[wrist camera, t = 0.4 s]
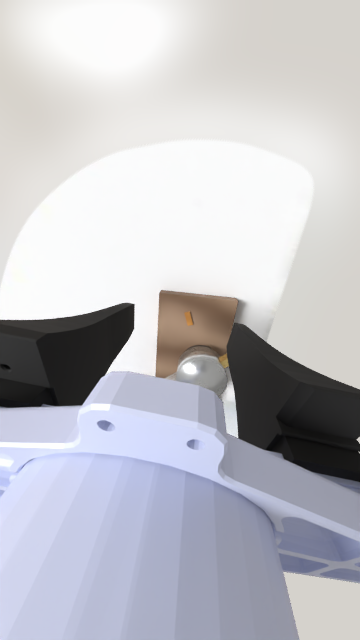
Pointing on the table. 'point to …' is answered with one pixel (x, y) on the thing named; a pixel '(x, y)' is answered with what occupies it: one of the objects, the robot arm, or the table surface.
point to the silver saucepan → (202, 369)
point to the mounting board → (191, 326)
